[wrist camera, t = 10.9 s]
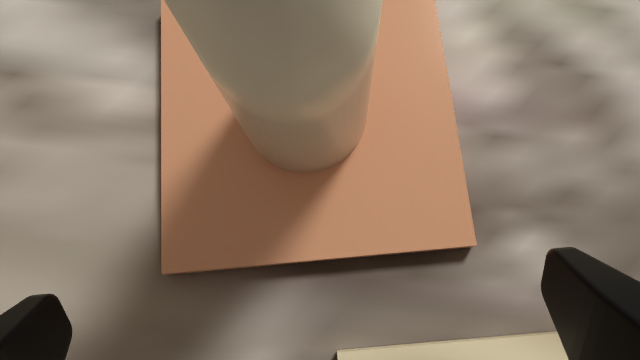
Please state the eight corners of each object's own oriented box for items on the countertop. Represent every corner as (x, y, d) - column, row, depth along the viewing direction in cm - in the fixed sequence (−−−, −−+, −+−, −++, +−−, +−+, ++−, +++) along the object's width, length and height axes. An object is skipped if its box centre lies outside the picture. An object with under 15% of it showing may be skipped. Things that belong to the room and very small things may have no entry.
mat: (471, 247, 16) (476, 245, 16) (167, 274, 17) (161, 274, 16) (428, -18, 19) (430, -28, 19) (166, 9, 19) (160, 0, 19)
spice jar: (392, 91, 17) (526, -448, 5) (327, 199, 16) (276, -106, 4) (285, 35, 18) (152, -556, 5) (217, 135, 17) (-125, -292, 5)
